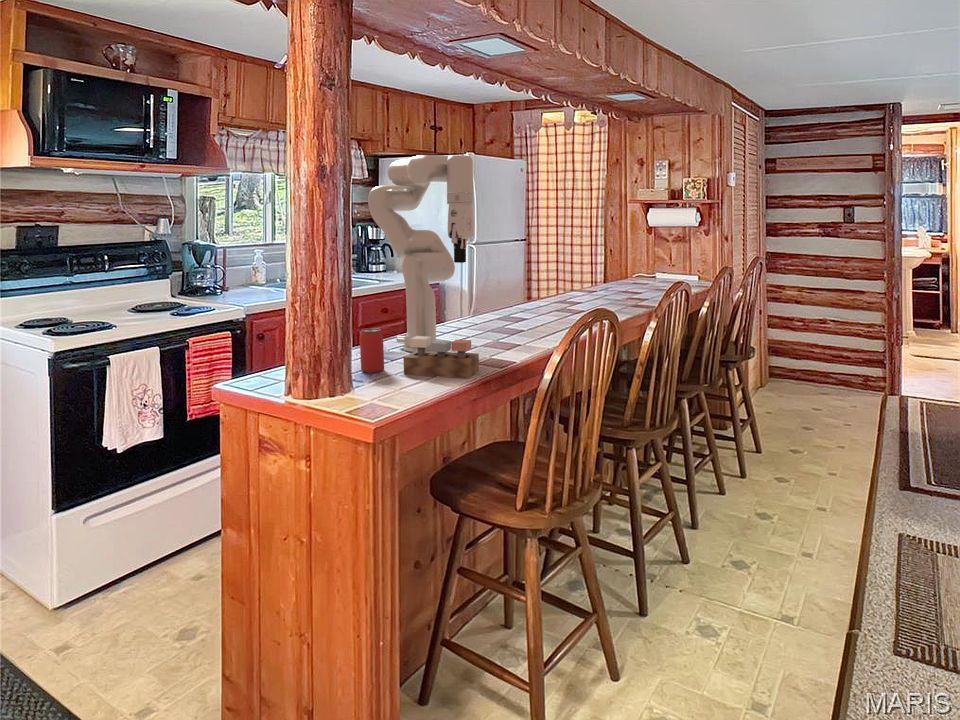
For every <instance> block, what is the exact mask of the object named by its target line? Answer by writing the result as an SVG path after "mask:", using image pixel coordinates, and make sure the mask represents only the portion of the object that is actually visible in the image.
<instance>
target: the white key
mask: <svg viewBox="0 0 960 720" xmlns="http://www.w3.org/2000/svg"><path fill="white" fill-rule="evenodd" d="M430 345H431V337H428V336H416V337H413V338H411V347H418V356H425V348H426V347H428V346H430Z"/></svg>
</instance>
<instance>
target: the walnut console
mask: <svg viewBox="0 0 960 720" xmlns="http://www.w3.org/2000/svg"><path fill="white" fill-rule="evenodd" d="M465 356H466V358H458V352H457V351H447V352H445V357H438V354H437V352H431V351H425V356H418V350H417V351H415V352H410V353H409V354H407V355H405V356H403V375H405V376H407V375H408V376H419V375H422V376H423V377H435V376H439V377H438V378H453V379H454V378H455V379H470V378H471V377H473V376H475V374H476V373H477V372H479V370H480V369H479V368H480V366H479V365H480V360H479V359H480V358H479V356H480V354H479V353H475V352H465Z"/></svg>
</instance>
